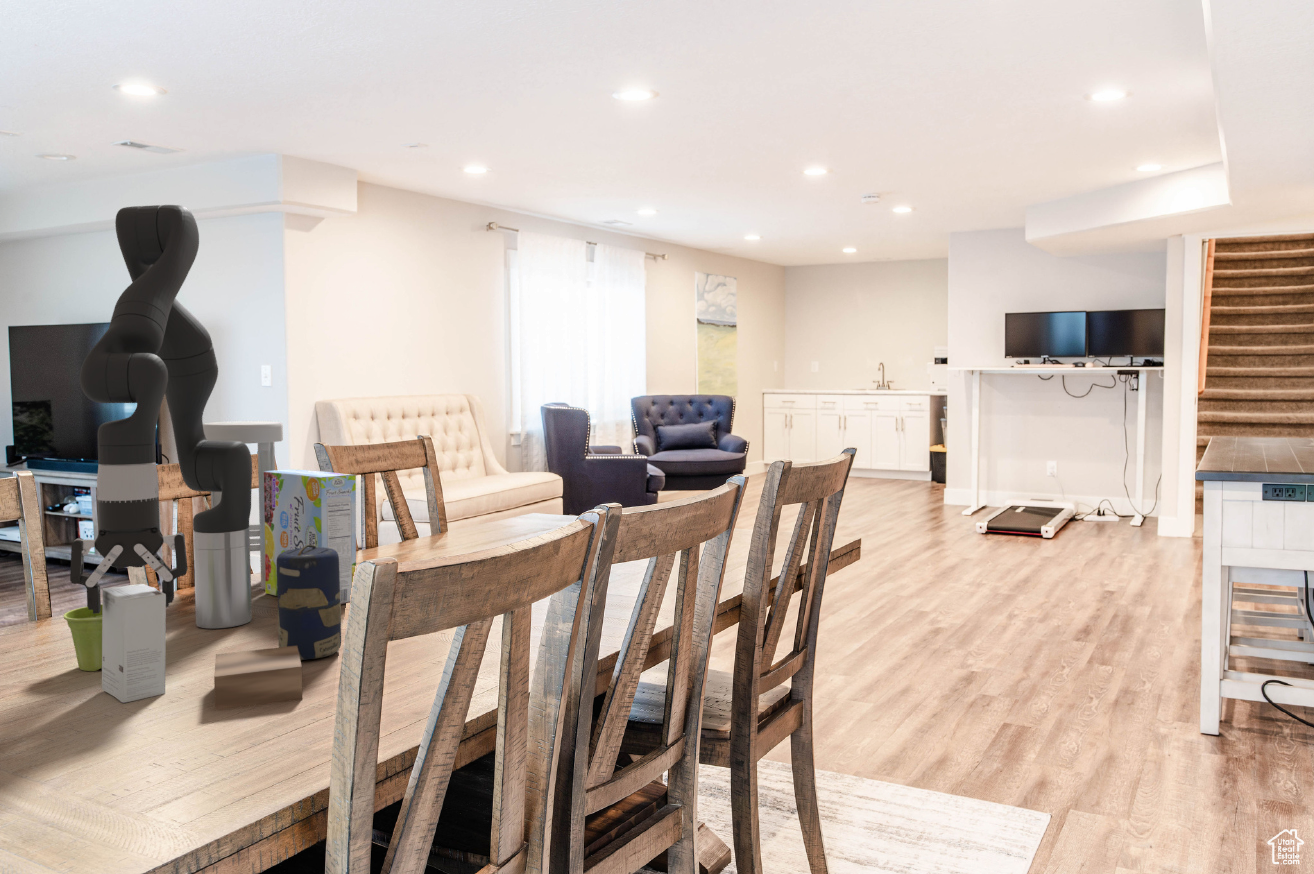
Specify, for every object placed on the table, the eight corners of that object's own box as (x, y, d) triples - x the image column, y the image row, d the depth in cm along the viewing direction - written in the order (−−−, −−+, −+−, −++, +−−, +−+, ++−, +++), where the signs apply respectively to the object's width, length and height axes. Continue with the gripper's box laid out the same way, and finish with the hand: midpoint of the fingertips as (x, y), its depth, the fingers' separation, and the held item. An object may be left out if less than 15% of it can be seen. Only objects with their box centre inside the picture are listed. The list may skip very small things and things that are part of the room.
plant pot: (104, 677, 138) (102, 620, 138) (50, 673, 140) (48, 616, 140) (150, 658, 148) (148, 605, 147) (99, 655, 150) (97, 602, 149)
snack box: (361, 601, 185) (358, 473, 184) (321, 610, 178) (319, 477, 177) (301, 586, 199) (298, 466, 197) (262, 593, 192) (259, 470, 190)
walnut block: (216, 688, 135) (215, 654, 135) (297, 678, 139) (297, 645, 139) (215, 713, 125) (214, 676, 125) (302, 701, 129) (301, 666, 129)
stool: (281, 590, 195) (278, 424, 193) (200, 595, 190) (196, 424, 188) (288, 575, 210) (284, 420, 207) (213, 579, 205) (208, 421, 203)
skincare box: (101, 691, 132) (97, 588, 131) (146, 680, 137) (142, 581, 136) (124, 705, 127) (120, 597, 126) (170, 693, 132) (166, 590, 131)
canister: (354, 649, 153) (351, 541, 152) (315, 666, 144) (312, 551, 143) (306, 644, 156) (303, 538, 155) (265, 660, 147) (262, 547, 146)
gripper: (186, 490, 136) (189, 599, 137) (73, 494, 131) (77, 608, 132) (183, 496, 130) (186, 610, 131) (64, 500, 124) (68, 620, 125)
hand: (131, 609), depth 131 cm, fingers open, 8 cm apart
